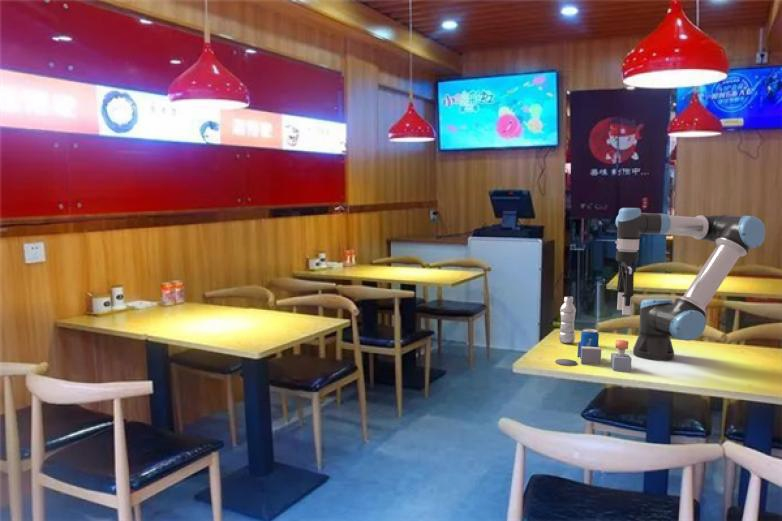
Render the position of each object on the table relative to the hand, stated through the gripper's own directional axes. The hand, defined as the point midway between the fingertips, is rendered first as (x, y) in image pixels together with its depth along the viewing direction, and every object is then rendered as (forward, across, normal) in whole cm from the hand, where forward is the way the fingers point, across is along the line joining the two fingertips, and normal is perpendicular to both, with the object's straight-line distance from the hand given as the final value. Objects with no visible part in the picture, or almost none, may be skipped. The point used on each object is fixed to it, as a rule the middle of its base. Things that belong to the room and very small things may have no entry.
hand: (623, 312), depth 224 cm
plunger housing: (+21, 0, 0) cm, 21 cm away
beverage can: (+22, -9, -10) cm, 25 cm away
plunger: (+18, 0, 0) cm, 18 cm away
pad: (+21, -4, -19) cm, 29 cm away
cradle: (+21, -9, -10) cm, 25 cm away
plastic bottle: (+22, -36, -15) cm, 45 cm away
